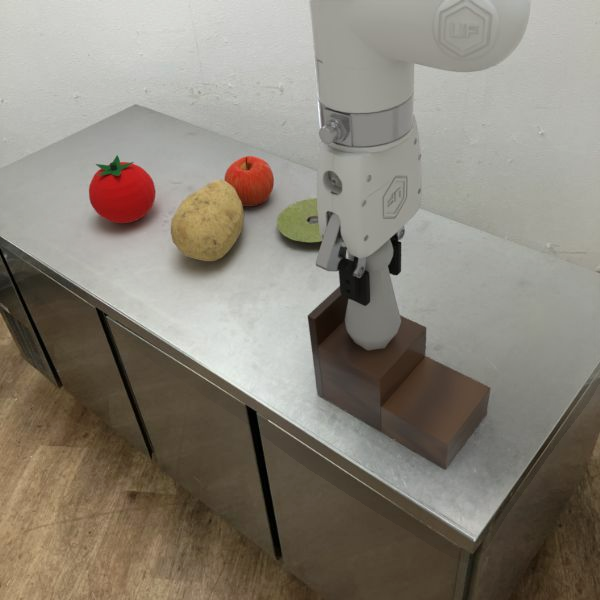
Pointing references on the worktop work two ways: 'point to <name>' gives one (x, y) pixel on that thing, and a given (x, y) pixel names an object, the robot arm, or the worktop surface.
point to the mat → (300, 221)
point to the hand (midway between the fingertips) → (371, 282)
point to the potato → (208, 222)
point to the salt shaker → (375, 304)
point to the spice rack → (395, 384)
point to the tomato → (121, 191)
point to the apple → (250, 180)
